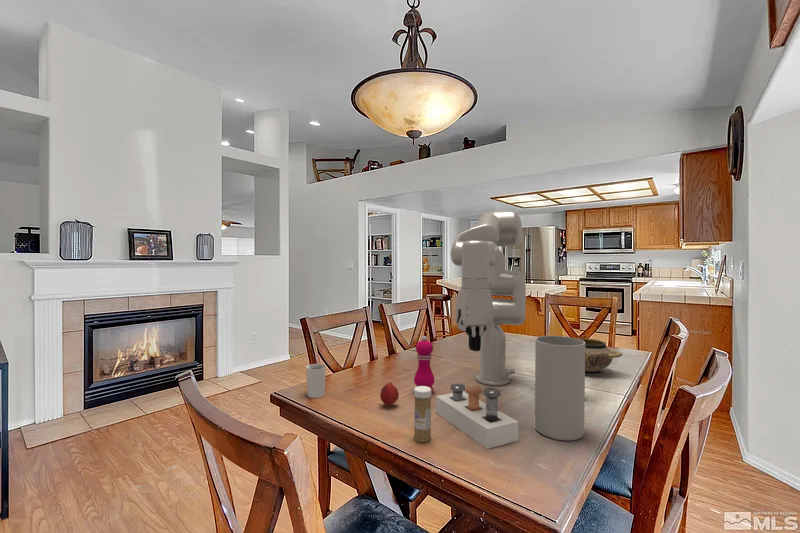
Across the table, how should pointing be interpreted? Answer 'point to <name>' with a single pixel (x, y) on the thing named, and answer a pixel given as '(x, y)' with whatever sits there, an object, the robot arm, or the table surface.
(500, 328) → the robot arm
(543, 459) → the table surface
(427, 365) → the pepper mill
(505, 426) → the block
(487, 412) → the grey plug
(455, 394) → the grey plug
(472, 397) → the rust plug
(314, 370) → the drinking glass
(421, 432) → the sprinkles bottle
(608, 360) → the ceramic bowl
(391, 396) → the onion
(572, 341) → the cylinder vase
